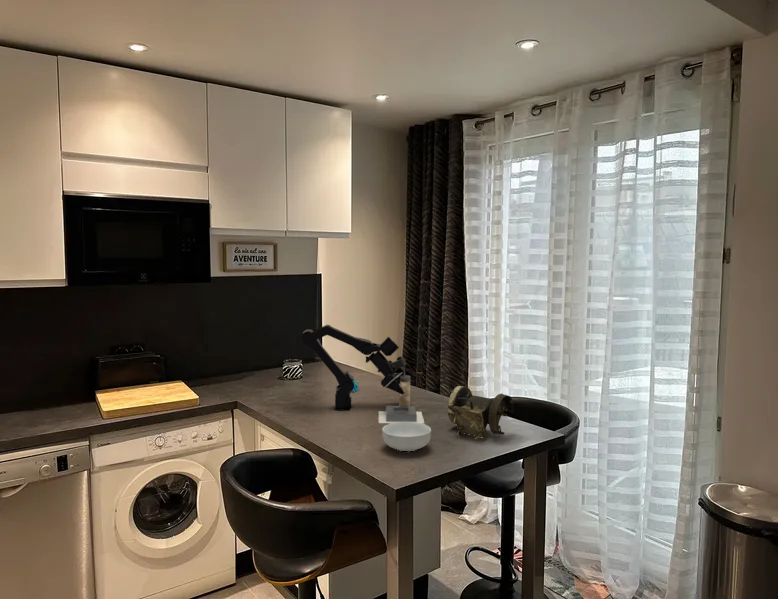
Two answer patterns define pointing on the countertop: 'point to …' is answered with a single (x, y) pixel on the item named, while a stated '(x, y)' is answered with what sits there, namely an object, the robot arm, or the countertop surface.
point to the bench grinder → (477, 411)
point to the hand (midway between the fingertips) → (406, 391)
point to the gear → (355, 386)
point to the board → (383, 420)
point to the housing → (401, 414)
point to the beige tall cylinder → (405, 390)
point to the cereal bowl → (406, 435)
